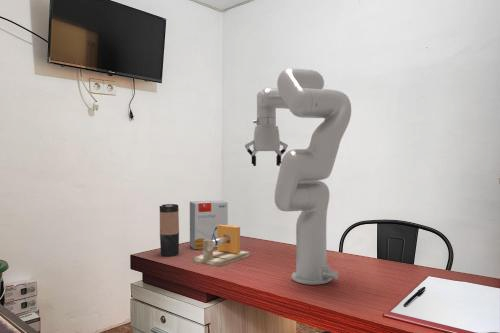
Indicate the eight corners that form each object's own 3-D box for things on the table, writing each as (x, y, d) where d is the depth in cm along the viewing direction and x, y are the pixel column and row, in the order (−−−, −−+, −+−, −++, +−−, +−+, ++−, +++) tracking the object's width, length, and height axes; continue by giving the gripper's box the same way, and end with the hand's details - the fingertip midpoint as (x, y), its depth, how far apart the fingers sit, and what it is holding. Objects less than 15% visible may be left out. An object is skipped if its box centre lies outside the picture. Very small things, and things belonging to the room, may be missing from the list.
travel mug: (182, 254, 156) (181, 205, 156) (164, 257, 152) (163, 206, 152) (174, 251, 163) (174, 203, 162) (157, 253, 158) (156, 205, 158)
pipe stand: (249, 255, 153) (249, 234, 153) (219, 266, 139) (219, 243, 139) (224, 251, 161) (224, 231, 161) (193, 261, 147) (193, 238, 146)
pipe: (238, 240, 156) (238, 233, 156) (209, 248, 142) (209, 241, 142) (233, 239, 157) (233, 233, 157) (204, 247, 144) (204, 240, 144)
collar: (240, 252, 151) (240, 226, 151) (237, 253, 149) (236, 227, 149) (220, 249, 157) (220, 224, 157) (217, 250, 155) (217, 225, 155)
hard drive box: (193, 250, 164) (193, 203, 163) (189, 246, 171) (188, 201, 170) (228, 246, 170) (227, 201, 169) (222, 243, 177) (222, 199, 176)
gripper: (246, 122, 149) (246, 166, 150) (289, 122, 152) (289, 166, 152) (243, 123, 156) (243, 165, 157) (285, 123, 159) (285, 165, 160)
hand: (266, 165), depth 155 cm, fingers open, 9 cm apart
